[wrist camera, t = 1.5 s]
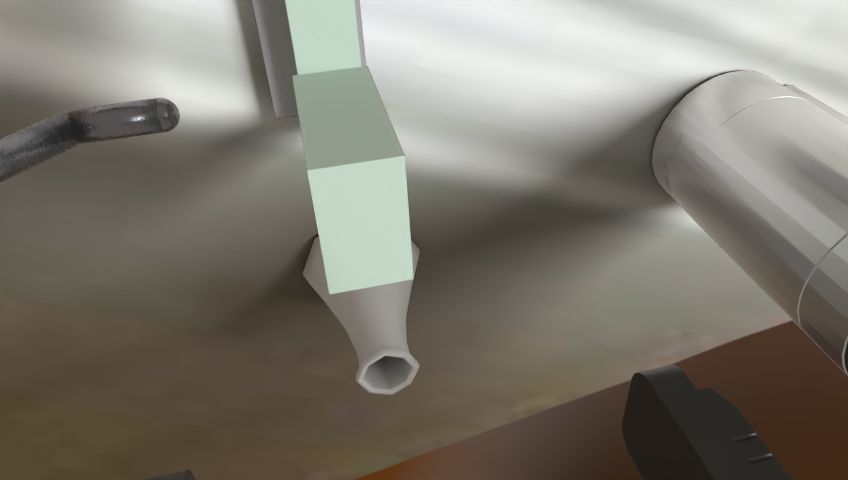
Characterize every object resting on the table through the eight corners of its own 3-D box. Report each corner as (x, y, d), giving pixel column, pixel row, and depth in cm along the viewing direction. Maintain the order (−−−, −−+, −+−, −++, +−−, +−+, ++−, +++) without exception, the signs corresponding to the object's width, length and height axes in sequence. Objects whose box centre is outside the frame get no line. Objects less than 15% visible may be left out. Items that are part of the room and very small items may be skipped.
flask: (282, 275, 41) (290, 396, 33) (349, 193, 39) (375, 303, 31) (371, 316, 45) (398, 434, 37) (438, 243, 42) (482, 353, 34)
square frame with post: (343, -133, 29) (453, -19, 14) (369, 115, 36) (459, 365, 21) (228, -123, 28) (211, 8, 13) (278, 127, 35) (305, 397, 20)
